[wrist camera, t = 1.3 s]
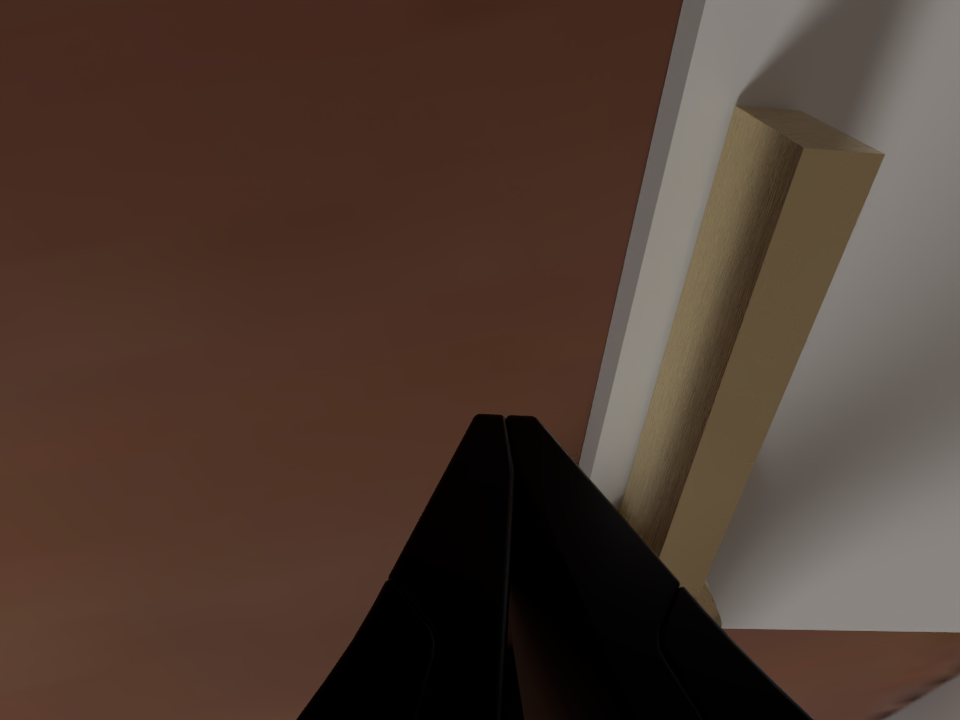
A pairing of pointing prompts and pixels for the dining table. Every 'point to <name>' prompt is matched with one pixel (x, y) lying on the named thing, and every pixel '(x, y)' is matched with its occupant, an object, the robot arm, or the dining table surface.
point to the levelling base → (819, 315)
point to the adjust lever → (741, 327)
